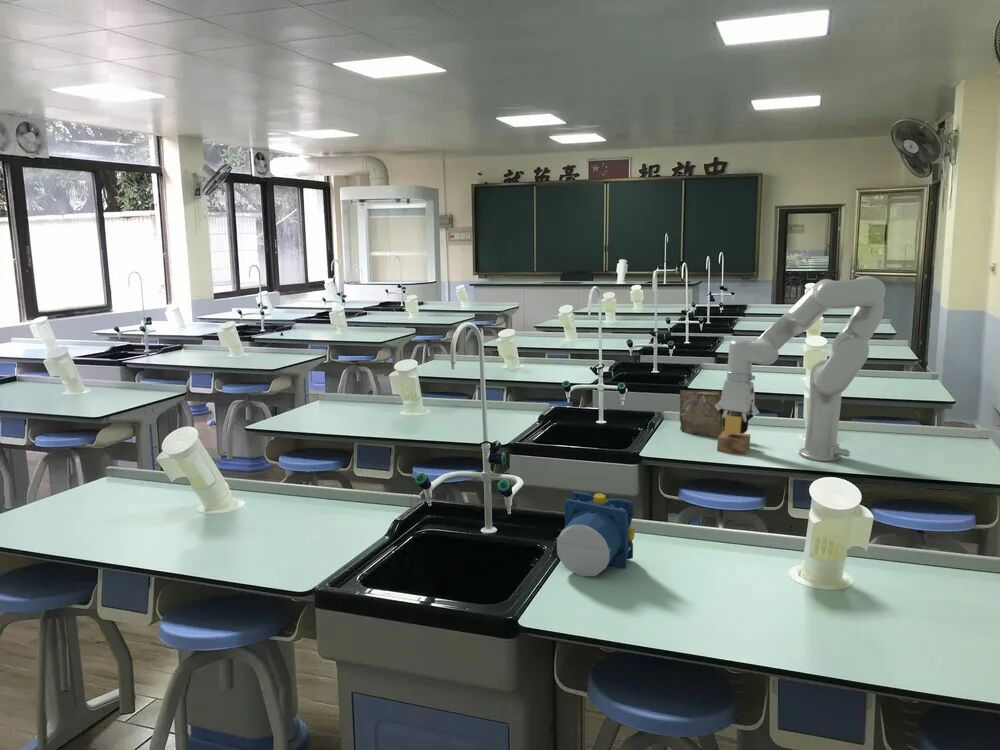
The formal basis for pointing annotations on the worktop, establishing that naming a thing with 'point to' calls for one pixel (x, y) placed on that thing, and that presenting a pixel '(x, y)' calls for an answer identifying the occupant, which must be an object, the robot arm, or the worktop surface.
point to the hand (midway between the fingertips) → (735, 430)
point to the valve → (595, 533)
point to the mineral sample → (700, 412)
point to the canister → (733, 423)
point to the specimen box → (733, 443)
